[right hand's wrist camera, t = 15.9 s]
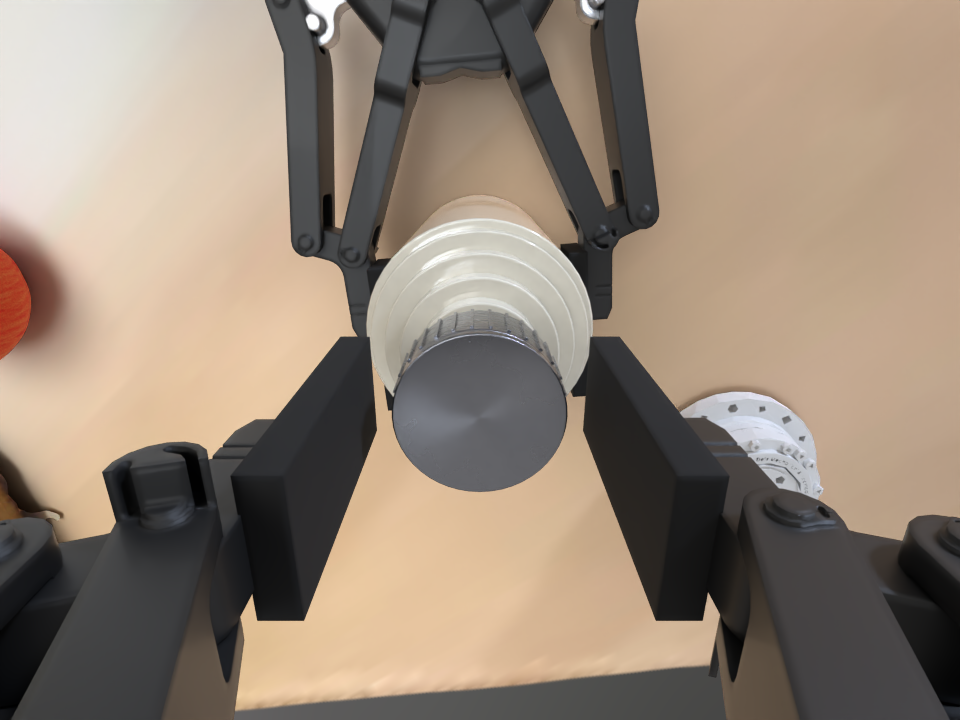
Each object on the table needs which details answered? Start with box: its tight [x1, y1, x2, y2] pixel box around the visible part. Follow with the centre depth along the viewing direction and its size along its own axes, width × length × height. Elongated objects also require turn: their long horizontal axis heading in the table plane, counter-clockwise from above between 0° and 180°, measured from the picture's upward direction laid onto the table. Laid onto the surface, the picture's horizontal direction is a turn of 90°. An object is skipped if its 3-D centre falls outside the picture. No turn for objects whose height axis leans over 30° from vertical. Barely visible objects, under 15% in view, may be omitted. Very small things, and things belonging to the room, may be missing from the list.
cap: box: [392, 309, 567, 492], centre depth 13 cm, size 4×4×2 cm
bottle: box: [366, 195, 593, 397], centre depth 22 cm, size 8×8×18 cm
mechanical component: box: [679, 392, 824, 500], centre depth 32 cm, size 10×4×10 cm
